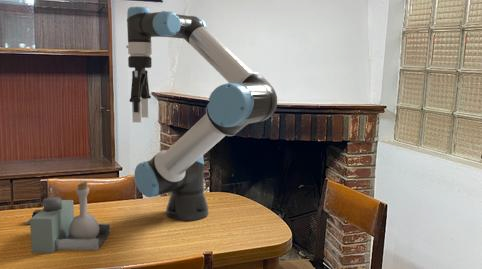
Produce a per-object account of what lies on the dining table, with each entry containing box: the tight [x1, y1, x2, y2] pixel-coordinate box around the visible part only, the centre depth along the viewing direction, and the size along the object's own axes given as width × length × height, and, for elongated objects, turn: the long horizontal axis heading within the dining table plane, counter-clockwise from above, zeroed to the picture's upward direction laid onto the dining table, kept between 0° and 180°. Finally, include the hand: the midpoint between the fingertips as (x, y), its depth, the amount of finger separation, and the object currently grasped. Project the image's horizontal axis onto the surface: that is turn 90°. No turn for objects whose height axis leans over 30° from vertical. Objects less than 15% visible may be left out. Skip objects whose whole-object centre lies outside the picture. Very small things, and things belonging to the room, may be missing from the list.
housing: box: [29, 196, 75, 254], centre depth 135 cm, size 6×18×13 cm, turn 2°
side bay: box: [55, 222, 111, 251], centre depth 136 cm, size 12×14×3 cm
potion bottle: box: [68, 181, 100, 239], centre depth 135 cm, size 9×9×18 cm
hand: (141, 119), depth 152 cm, fingers open, 13 cm apart
